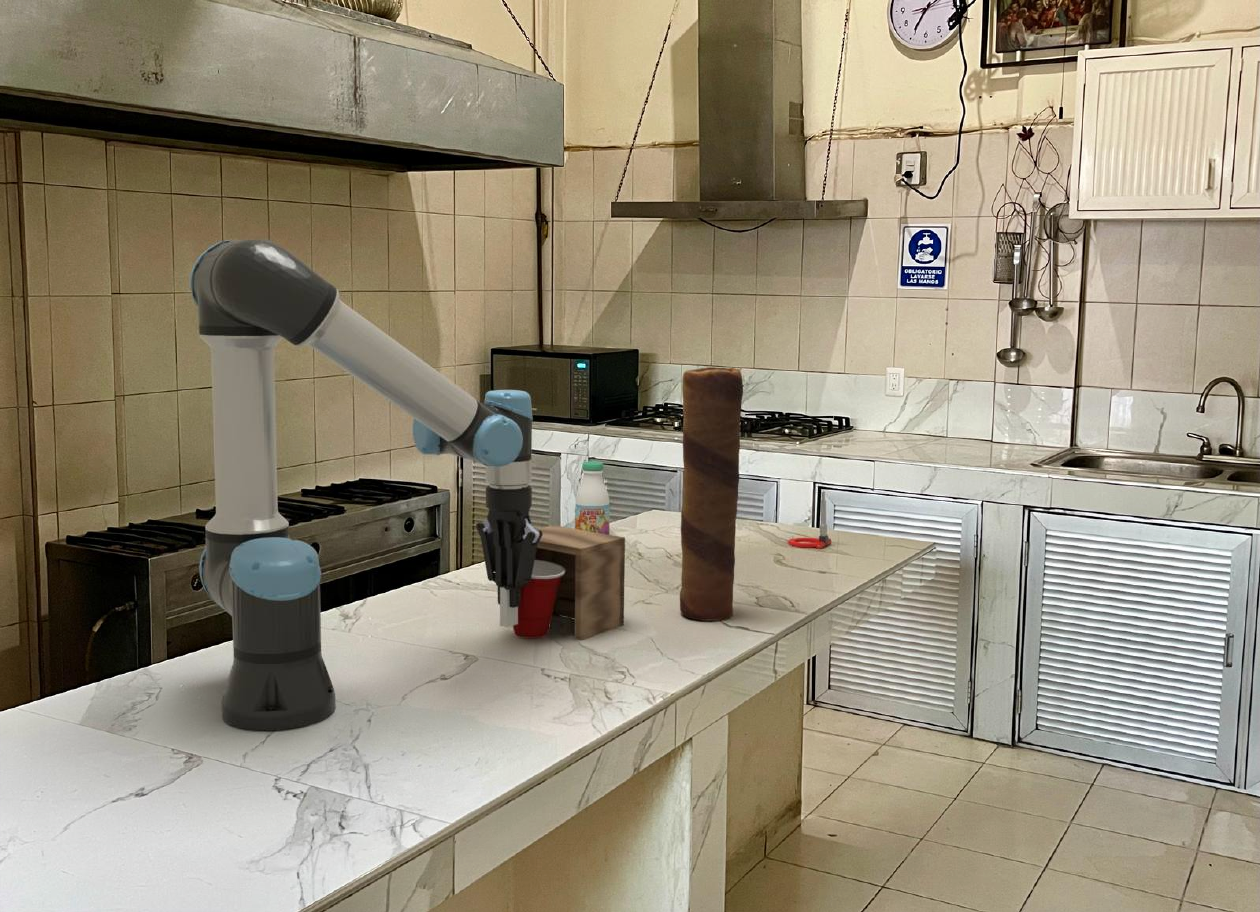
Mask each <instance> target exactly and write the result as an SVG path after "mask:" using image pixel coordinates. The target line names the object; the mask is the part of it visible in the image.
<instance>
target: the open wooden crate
mask: <svg viewBox="0 0 1260 912" xmlns="http://www.w3.org/2000/svg"><path fill="white" fill-rule="evenodd" d="M534 529H535V530H536V531H537V530H541V531H542V533H543V535H542V537H541V539H540V541H539V542H538V545H537V551H536V556H535V560H542V561H547V562H552V563H556V564H558V565H560V566H563V567H564V568H565V569H566V571H565V573H564V575H563V576H562V578H561V580H560V583H559V586H558V590H557V595H556V600H555V604H554V609H553V612H555V613H556V615H557V616H561V617H565V618H569V619H573V620H574V639H575V640H578V641H581V640H582V641H583V640H585V639H588V638H591V637H593V636H596V635H599V634H602V633H605V632H608V631H611V630H612V629H616V628H618V627H619V628H620V627H622V626H624V624H625V572H626V571H625V570H626V569H625V566H626V565H625V564H626V563H625V562H626V561H625V560H626V559H625V558H626V557H625V554H626V537H624V536H618V535H613V534H609V535H607V534H602V533H596V532H590V531H584V530H579V529H575V528H572V527H566V526H561V525H555V524H554V525H553V524H551V525H549V526H548V525H547V526H544V527H540V528H534Z"/></svg>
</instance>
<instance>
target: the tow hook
mask: <svg viewBox="0 0 1260 912" xmlns="http://www.w3.org/2000/svg"><path fill="white" fill-rule="evenodd" d="M831 543H832V539H831V538H829V534H828V524H827V500H826V491H823V490H822V491H821V500H820V525H819V536H818V537H795V538H794V537H793V538H791V539H788V540H787V544H788V545H789V546H791V545H793V546H792V547H795V546H797V548H816V549H818V548H820V549H823V548H825V547H827V546H828V545H830V544H831Z"/></svg>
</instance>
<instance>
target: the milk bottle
mask: <svg viewBox="0 0 1260 912" xmlns="http://www.w3.org/2000/svg"><path fill="white" fill-rule="evenodd" d="M582 473H583V475H582V481H581V483H580V486H579V488H578V490H577V493H576V497H575V509H574V511H575V513H574V514H575V515H574V517H575V518H574V529H579V530H584V531H590V532H596V533H602V534H607V535H610V521H611V520H610V514H611V513H610V512H611V511H610V496H609V491H608V490H607V487H606V484H605V482H604V478H603V473H604V463H603V462H601V461H584V462H582Z"/></svg>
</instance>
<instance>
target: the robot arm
mask: <svg viewBox="0 0 1260 912" xmlns="http://www.w3.org/2000/svg"><path fill="white" fill-rule="evenodd" d="M189 285H190V286H189V287H190V292H191V296H192V298H193V301H194V303H195V305H196V307H197V309H198V310H197V311H198V313H197V314H198V336H199V338H200V339H201V340H202V341H204V343H205V344H207V345H208V347H209V348H210V355H211V357H210V358H211V391H212V421H213V422H212V424H213V425H212V426H213V454H214V456H213V457H214V458H213V459H214V486H215V487H214V488H215V489H214V490H215V492H214V493H215V494H214V495H215V514H214V516H213V517H212V518H211V519H209V521H208V522H207V523H206V524H205V548H204V550H203V552H202V554H201V556H200V560H199V568H198V569H199V576H200V577H199V578H200V580H201V581H200V582H201V584H202V587H203V588H204V591H205V593H206V595H208V596H209V598H210V599H211V601H212V602H213V603H215V604H216V605H217V606H219V608H221V609H222V610H224V611H225V612H227V614H229V615H230V616H231V618H232V623H231V624H232V647H233V650H232V651H233V662H232V666H231V669H230V672H229V676H228V679H227V682H226V687H225V690H224V694H223V696H222V699H221V717H222V720H223V722H225V723H227V724H228V725H230V726H232V727H236V728H240V729H245V730H252V731H280V730H288V729H289V730H290V729H295V728H302V727H304V726H309V725H311V724H315V723H317V722H320V721H322V720H324V719H327V718H328V717H329V716H331V715H332V714H333V713H334V712H335V710H336V692H335V687H334V686H333V683H332V680H331V677H330V674H329V672H328V669H327V667H326V664H325V661H324V658H323V654H322V627H321V626H322V622H321V621H322V620H321V619H322V617H321V616H322V615H321V578H322V571H321V567H320V559H319V555H318V552H317V551H316V549H315V548H314V547H313V546H311V545H310V544H309V543H307V542H304V541H302V540H298V539H295V540H292V539H291V538H290V527H289V526H290V525H289V524H290V523H289V521H288V520H287V519H286V518H285V517H284V515H281V514H280V512H279V509H278V508H279V507H278V506H279V505H278V504H279V503H278V501H279V500H278V472H277V471H278V466H277V463H278V461H277V429H276V427H277V425H276V424H277V423H276V385H275V384H276V383H275V382H276V378H275V348H276V346H277V345H278V344H279V343H280V342H281V341H282V340H283V339H285V340H286V341H288V342H289V343H291V344H292V345H294V346H295V347H302V346H308V347H310V349H312V350H313V351H315V352H316V353H318V354H320V355H321V356H323V358H326V359H327V360H328V361H330V362H332V363H333V364H334V365H335V366H337V367H339V368H340V369H342V370H343V371H344V372H346V373H347V374H349V375H350V376H352V377H353V378H355V379H356V380H358V381H359V382H360V383H362V384H364V386H366V387H368V388H370V390H372V391H373V392H375V393H376V394H378V395H379V396H381V397H383V398H384V399H386V401H388V402H390V403H391V404H393V405H394V406H395V407H397V408H399V409H400V410H402V411H403V412H404V413H406V414H407V415H408V416H410V417H412V418H413V421H412V437H413V441H414V442H413V443H414V445H415V447H416V449H417V451H418V452H419V453H421V454H422V455H436V456H440V455H447V454H449V455H453V456H456V457H459V458H463V459H466V460H467V459H468V460H470V461H473V462H476V463H480V464H482V465H483V466H485V483H486V484H488V485H487V486H486V487H485V507H486V508H487V509H488V513H487V515H486V519H485V520H484V521H482V522H477V523H476V525H475V527H476V530H477V533H478V535H479V537H480V542H481V546H482V547H481V549H482V552H483V558H484V563H485V564H484V565H485V569H486V575H487V579H488V580H489V582H492V581H493V582H494V583H495V585H496V586H497V604H498V605H499V625H500V627H503V628H509V627H513V625H516V624H518V606H520V589H521V587H522V586H524V585H527V584H530V582H531V577H532V571H533V566H534V561H535V556H536V551H537V545H538V542H539V541H540V539H541V537H542V535H543V533H542V531H541V530H537V531H536V530H535V529H536V528H535V527H534V526H532V520H531V517H530V513H529V511H530V510H531V508H532V505H533V503H532V502H533V497H532V496H533V493H532V492H533V489H532V487H531V485H529V484H531V482H532V479H533V477H532V469H533V468H532V467H533V466H532V461H533V460H532V454H533V452H532V448H533V447H532V446H533V445H532V443H533V442H532V441H533V440H532V439H533V437H532V436H533V426H532V425H533V420H534V418H533V411H532V410H533V409H532V397H531V395H530V394H529V393H528V392H527V391H523V390H520V389H519V390H517V389H497V390H489V391H487V392H486V393H485V396H484V397H485V398H484V401H483V403H481V401H478V400H477V399H476V398H474V397H473V396H472V395H471V394H469V393H468V392H467V391H465V390H464V389H463V388H461V387H459V386H458V385H457V384H456V383H454V382H453V381H451V380H450V379H449V378H448V377H446V376H444V374H442V373H440V372H439V371H438V370H437V369H435V368H434V367H432V366H431V365H429V364H428V363H427V362H426V361H424V360H422V358H420V357H419V356H417V355H416V354H414V353H413V352H411V351H410V350H409V349H407V348H406V347H405V346H403V345H402V344H401V343H399V342H398V341H397V340H395V339H394V338H392V337H391V336H390V335H389V334H388V333H385V332H384V331H383V330H382V329H380V328H379V327H377V325H374V324H373V323H372V322H371V321H369V320H368V319H366V318H365V317H364V316H362V315H361V314H360V313H358V312H357V311H356V310H354V309H353V308H351V307H350V306H349V305H348V304H346V303H344V302H343V301H342V300H341V298H340V293H339V292H340V291H339V289H338V288H337V287H336V286H334V285H332V284H331V283H330V282H328V281H327V280H326V279H324V278H323V277H322V276H321V275H319V273H317V272H316V271H315V270H313V269H312V268H311V267H310V266H308V265H307V264H306V263H305V262H303V261H302V260H301V259H299V258H298V257H297V256H296V255H294V254H293V253H292V252H290V251H289V250H287V249H286V248H284V247H283V246H282V245H280V244H277V243H275V242H274V241H271V240H267V239H262V238H261V239H260V238H247V239H227V240H223V241H221V242H217V243H216V244H213V245H212V246H209V248H208V249H206V250H205V251H204V252H202V254H200V256H199V257H198V258H197V259H196V261H195V262H194V264H193V265H192V268H191V272H190V277H189Z"/></svg>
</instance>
